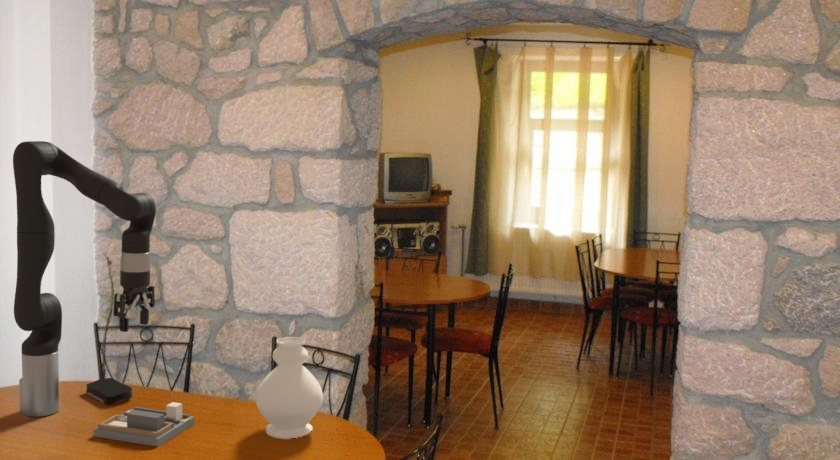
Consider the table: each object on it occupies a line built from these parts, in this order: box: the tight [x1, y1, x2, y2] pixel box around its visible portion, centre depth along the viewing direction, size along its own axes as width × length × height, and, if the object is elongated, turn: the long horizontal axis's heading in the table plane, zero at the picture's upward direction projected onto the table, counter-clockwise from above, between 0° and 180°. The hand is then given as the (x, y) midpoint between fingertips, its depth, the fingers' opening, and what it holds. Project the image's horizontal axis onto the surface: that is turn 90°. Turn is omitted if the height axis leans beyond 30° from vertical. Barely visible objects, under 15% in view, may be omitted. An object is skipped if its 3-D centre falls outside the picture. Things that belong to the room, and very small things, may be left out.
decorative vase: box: [255, 336, 324, 440], centre depth 214 cm, size 18×18×25 cm
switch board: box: [93, 406, 195, 447], centre depth 212 cm, size 19×17×3 cm
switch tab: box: [165, 401, 183, 420], centre depth 215 cm, size 3×3×4 cm
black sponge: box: [85, 377, 134, 406], centre depth 237 cm, size 16×8×4 cm, turn 47°
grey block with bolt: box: [116, 410, 165, 432], centre depth 208 cm, size 13×3×4 cm, turn 75°
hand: (134, 327), depth 213 cm, fingers open, 8 cm apart
